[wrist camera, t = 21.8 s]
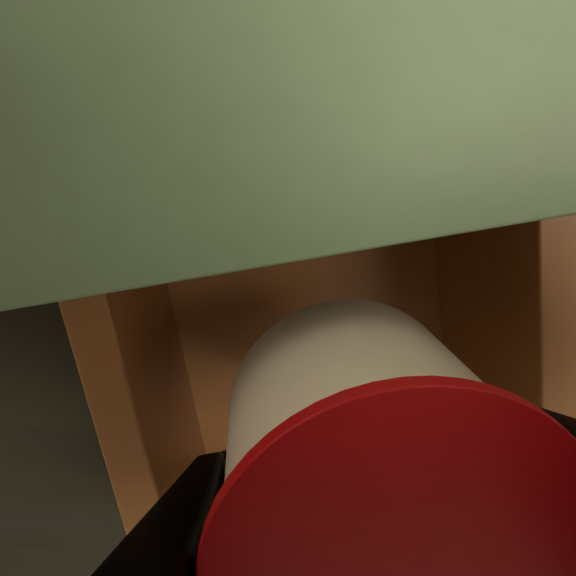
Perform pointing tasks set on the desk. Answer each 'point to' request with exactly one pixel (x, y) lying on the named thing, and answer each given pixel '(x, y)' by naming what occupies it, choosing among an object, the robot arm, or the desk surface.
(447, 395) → the cylinder
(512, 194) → the green drawer cabinet
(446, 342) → the pod drawer
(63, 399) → the desk surface
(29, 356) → the desk surface
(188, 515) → the robot arm
